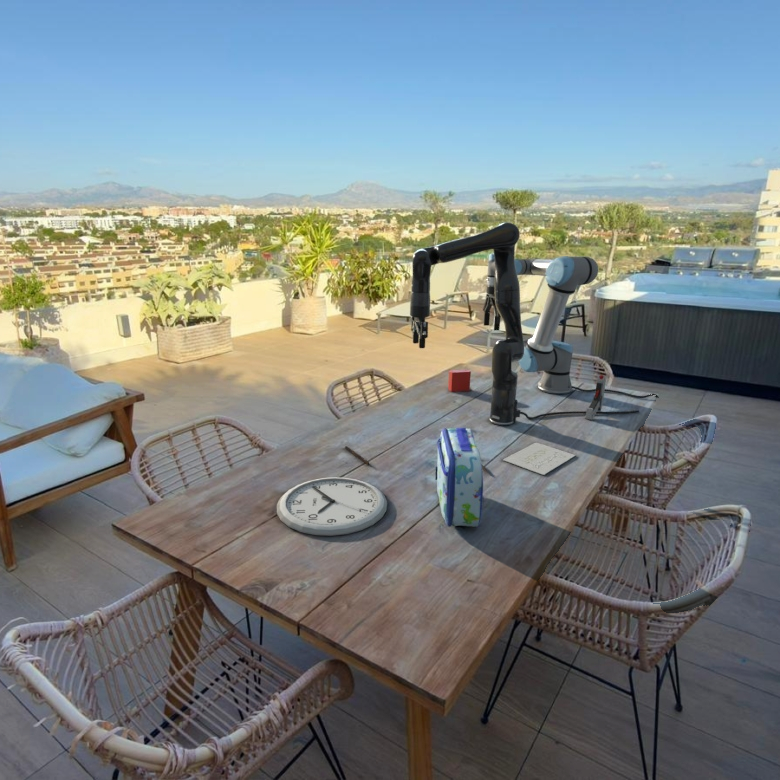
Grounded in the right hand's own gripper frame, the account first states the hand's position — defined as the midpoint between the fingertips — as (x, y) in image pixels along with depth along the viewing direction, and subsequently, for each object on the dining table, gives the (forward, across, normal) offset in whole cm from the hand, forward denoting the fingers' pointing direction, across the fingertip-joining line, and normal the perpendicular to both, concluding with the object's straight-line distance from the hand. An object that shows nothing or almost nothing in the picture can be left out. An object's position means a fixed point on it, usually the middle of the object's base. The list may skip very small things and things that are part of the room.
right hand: (491, 327), depth 267 cm
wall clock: (+25, +121, -94) cm, 155 cm away
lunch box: (+25, +129, -61) cm, 144 cm away
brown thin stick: (+25, +91, -83) cm, 125 cm away
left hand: (-4, +56, -53) cm, 77 cm away
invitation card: (+25, +102, -23) cm, 108 cm away
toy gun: (+25, +67, +20) cm, 74 cm away
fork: (+25, +103, -45) cm, 115 cm away
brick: (+24, +25, -24) cm, 43 cm away
